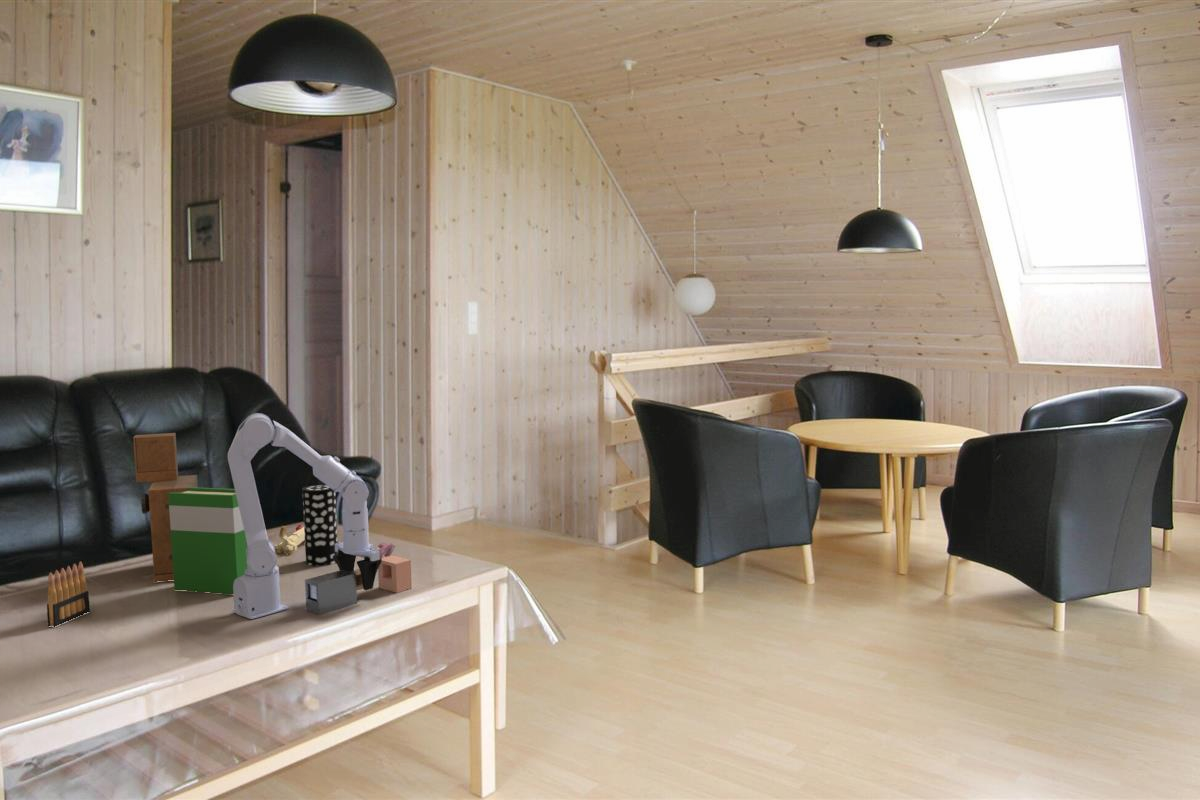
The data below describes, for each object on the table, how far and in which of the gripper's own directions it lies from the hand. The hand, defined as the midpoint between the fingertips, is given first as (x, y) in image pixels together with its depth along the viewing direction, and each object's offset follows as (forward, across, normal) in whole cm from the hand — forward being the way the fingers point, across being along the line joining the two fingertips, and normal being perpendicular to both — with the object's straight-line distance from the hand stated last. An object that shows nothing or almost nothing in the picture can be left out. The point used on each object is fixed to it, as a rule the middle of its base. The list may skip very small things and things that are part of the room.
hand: (358, 586), depth 227 cm
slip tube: (0, 0, +3) cm, 4 cm away
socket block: (+3, 0, -11) cm, 11 cm away
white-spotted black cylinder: (+3, +35, -14) cm, 38 cm away
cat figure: (+3, +56, -22) cm, 60 cm away
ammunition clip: (+3, +39, +48) cm, 62 cm away
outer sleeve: (+3, 0, +7) cm, 8 cm away
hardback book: (+3, +35, +16) cm, 39 cm away
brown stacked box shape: (+3, +59, +14) cm, 61 cm away
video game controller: (+3, +20, -21) cm, 30 cm away
